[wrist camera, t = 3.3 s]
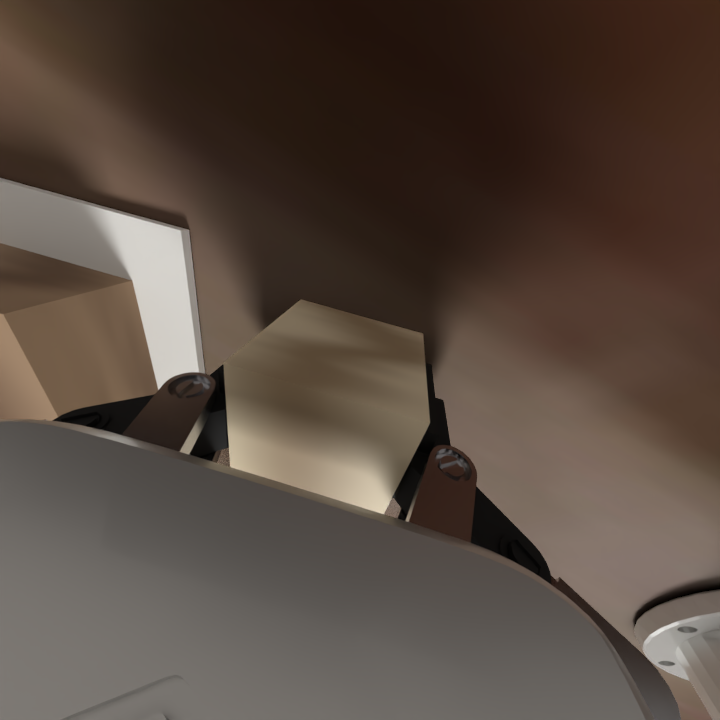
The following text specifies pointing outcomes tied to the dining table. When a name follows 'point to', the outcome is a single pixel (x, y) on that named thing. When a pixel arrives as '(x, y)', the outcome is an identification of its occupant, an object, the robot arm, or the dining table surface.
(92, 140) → the dining table surface
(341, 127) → the dining table surface
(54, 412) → the walnut base brick
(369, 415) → the maple block
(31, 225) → the white mat
